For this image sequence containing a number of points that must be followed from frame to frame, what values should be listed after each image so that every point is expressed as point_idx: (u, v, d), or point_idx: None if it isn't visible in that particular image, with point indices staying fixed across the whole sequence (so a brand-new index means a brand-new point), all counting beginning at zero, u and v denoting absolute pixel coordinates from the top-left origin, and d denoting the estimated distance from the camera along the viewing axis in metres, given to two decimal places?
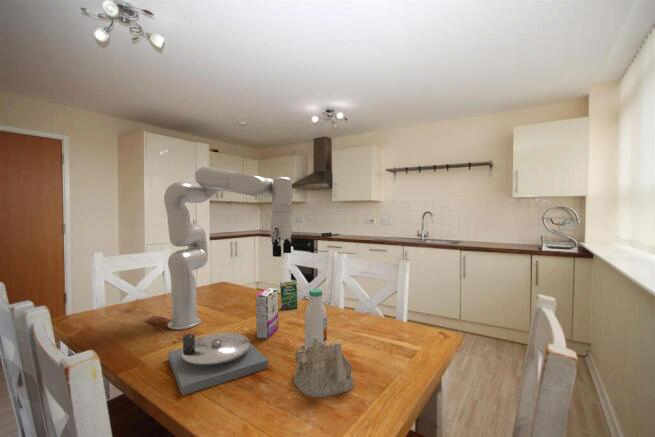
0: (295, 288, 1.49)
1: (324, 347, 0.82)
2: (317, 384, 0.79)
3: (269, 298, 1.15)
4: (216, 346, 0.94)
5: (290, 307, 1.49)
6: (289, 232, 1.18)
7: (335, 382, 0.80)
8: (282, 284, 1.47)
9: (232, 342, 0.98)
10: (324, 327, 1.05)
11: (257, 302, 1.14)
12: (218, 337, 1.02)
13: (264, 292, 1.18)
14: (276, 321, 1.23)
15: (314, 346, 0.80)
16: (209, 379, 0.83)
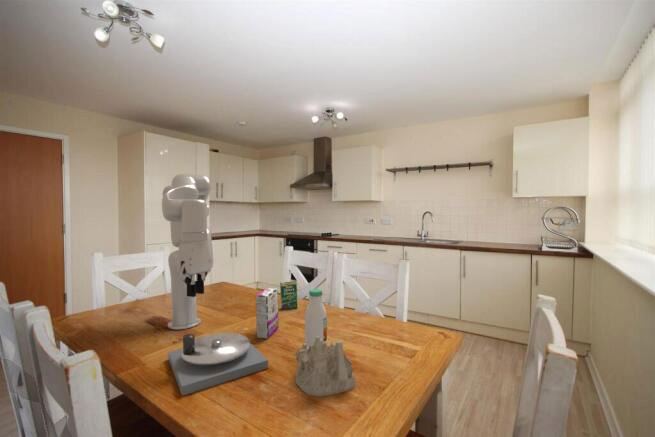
0: (295, 288, 1.49)
1: (325, 346, 0.82)
2: (319, 383, 0.80)
3: (269, 298, 1.15)
4: (216, 346, 0.94)
5: (290, 307, 1.49)
6: (204, 264, 0.99)
7: (337, 381, 0.81)
8: (282, 284, 1.47)
9: (232, 342, 0.98)
10: (324, 327, 1.05)
11: (257, 302, 1.14)
12: (218, 337, 1.02)
13: (264, 292, 1.18)
14: (276, 321, 1.23)
15: (316, 345, 0.81)
16: (209, 379, 0.83)
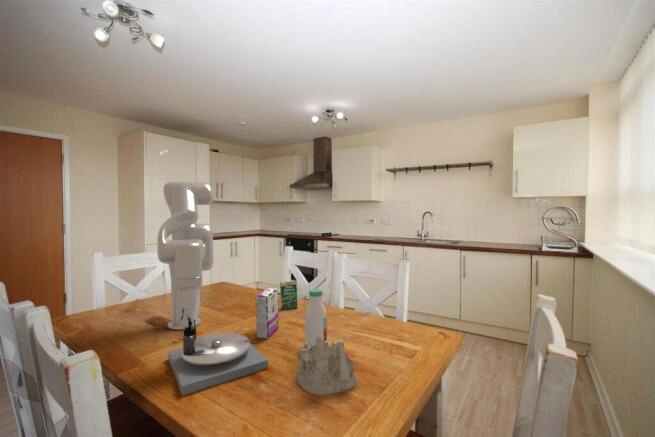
0: (295, 288, 1.49)
1: (327, 345, 0.83)
2: (321, 382, 0.80)
3: (269, 298, 1.15)
4: (216, 346, 0.94)
5: (290, 307, 1.49)
6: (198, 307, 0.96)
7: (338, 380, 0.81)
8: (282, 284, 1.47)
9: (232, 342, 0.98)
10: (324, 327, 1.05)
11: (257, 302, 1.14)
12: (217, 337, 1.02)
13: (264, 292, 1.18)
14: (276, 321, 1.23)
15: (318, 345, 0.81)
16: (209, 379, 0.83)
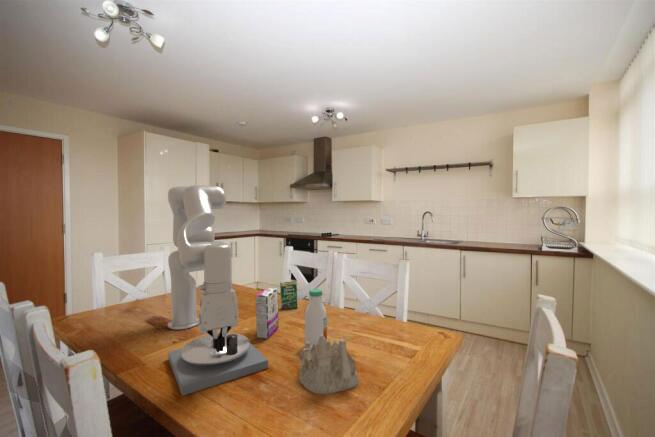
0: (295, 288, 1.49)
1: (329, 344, 0.83)
2: (323, 381, 0.81)
3: (269, 298, 1.15)
4: None
5: (290, 307, 1.49)
6: None
7: (340, 379, 0.82)
8: (282, 284, 1.47)
9: (209, 341, 0.99)
10: (324, 327, 1.05)
11: (257, 302, 1.14)
12: (194, 350, 0.92)
13: (264, 292, 1.18)
14: (276, 321, 1.23)
15: (320, 344, 0.82)
16: (209, 379, 0.83)
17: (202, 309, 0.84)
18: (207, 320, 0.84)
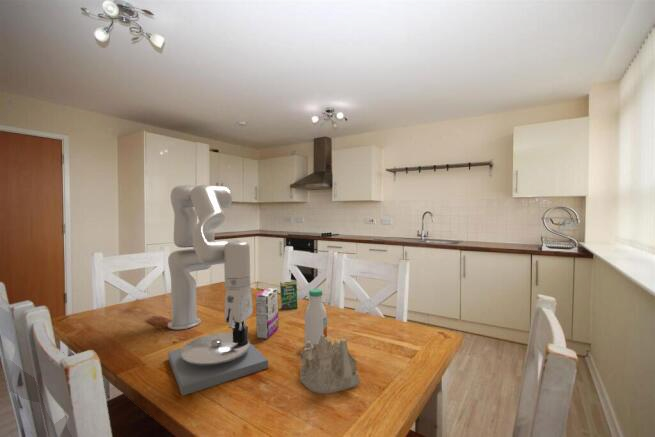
0: (295, 288, 1.49)
1: (330, 344, 0.84)
2: (324, 381, 0.81)
3: (269, 298, 1.15)
4: None
5: (290, 307, 1.49)
6: None
7: (341, 378, 0.82)
8: (282, 284, 1.47)
9: (200, 346, 0.95)
10: (324, 327, 1.05)
11: (257, 302, 1.14)
12: (205, 355, 0.89)
13: (264, 292, 1.18)
14: (276, 321, 1.23)
15: (321, 343, 0.82)
16: (209, 379, 0.83)
17: (237, 303, 0.88)
18: (241, 313, 0.89)
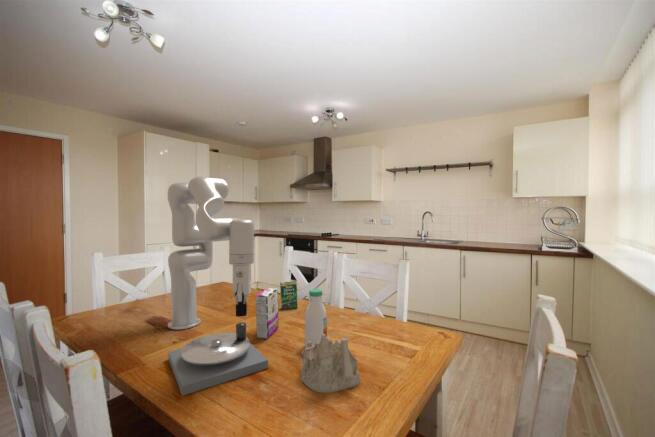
0: (295, 288, 1.49)
1: (331, 344, 0.84)
2: (325, 380, 0.81)
3: (269, 298, 1.15)
4: None
5: (290, 307, 1.49)
6: None
7: (342, 378, 0.82)
8: (282, 284, 1.47)
9: (199, 349, 0.93)
10: (324, 327, 1.05)
11: (257, 302, 1.14)
12: (214, 354, 0.90)
13: (264, 292, 1.18)
14: (276, 321, 1.23)
15: (322, 343, 0.82)
16: (209, 379, 0.83)
17: (246, 278, 0.92)
18: (249, 287, 0.94)
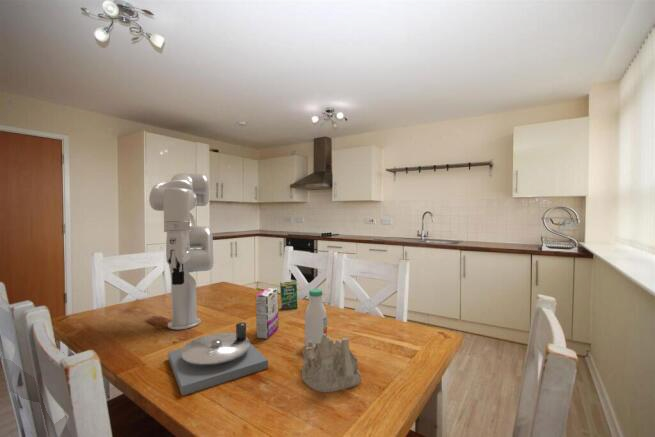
0: (295, 288, 1.49)
1: (332, 343, 0.84)
2: (326, 379, 0.82)
3: (269, 298, 1.15)
4: None
5: (290, 307, 1.49)
6: None
7: (343, 377, 0.83)
8: (282, 284, 1.47)
9: (199, 349, 0.93)
10: (324, 327, 1.05)
11: (257, 302, 1.14)
12: (214, 354, 0.90)
13: (264, 292, 1.18)
14: (276, 321, 1.23)
15: (323, 342, 0.83)
16: (209, 379, 0.83)
17: (180, 244, 0.93)
18: (183, 254, 0.94)
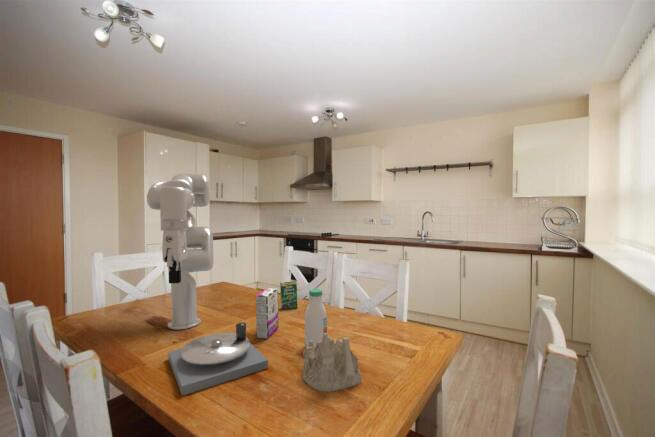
0: (295, 288, 1.49)
1: (333, 343, 0.84)
2: (327, 379, 0.82)
3: (269, 298, 1.15)
4: None
5: (290, 307, 1.49)
6: None
7: (344, 376, 0.83)
8: (282, 284, 1.47)
9: (199, 349, 0.93)
10: (324, 327, 1.05)
11: (257, 302, 1.14)
12: (214, 354, 0.90)
13: (264, 292, 1.18)
14: (276, 321, 1.23)
15: (324, 342, 0.83)
16: (209, 379, 0.83)
17: (176, 243, 0.93)
18: (180, 252, 0.94)
